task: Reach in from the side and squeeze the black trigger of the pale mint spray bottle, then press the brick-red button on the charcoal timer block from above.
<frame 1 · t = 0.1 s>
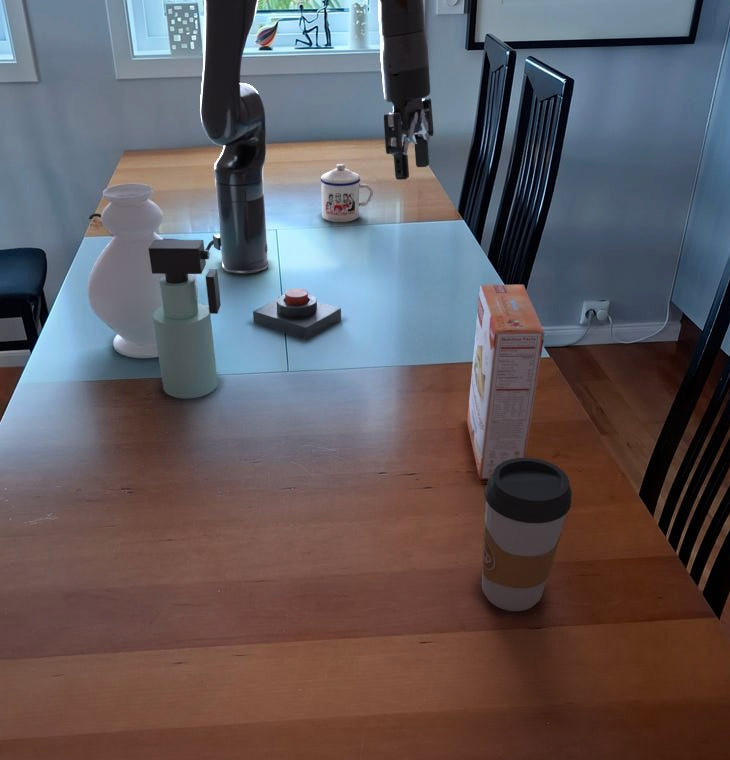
hand: (412, 172, 138), 22 cm above the table, tool pointing down, fingers open, 8 cm apart
spray bottle: (190, 385, 125), on the table
trigger: (213, 291, 116), point 15 cm above the table, slide at -0.1 cm
button: (296, 297, 141), point 4 cm above the table, slide at 0.1 cm
teacup with lid: (346, 217, 190), on the table
coffee cup: (510, 593, 87), on the table
decorative vase: (151, 342, 138), on the table
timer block: (297, 321, 144), on the table
cracker box: (491, 452, 109), on the table
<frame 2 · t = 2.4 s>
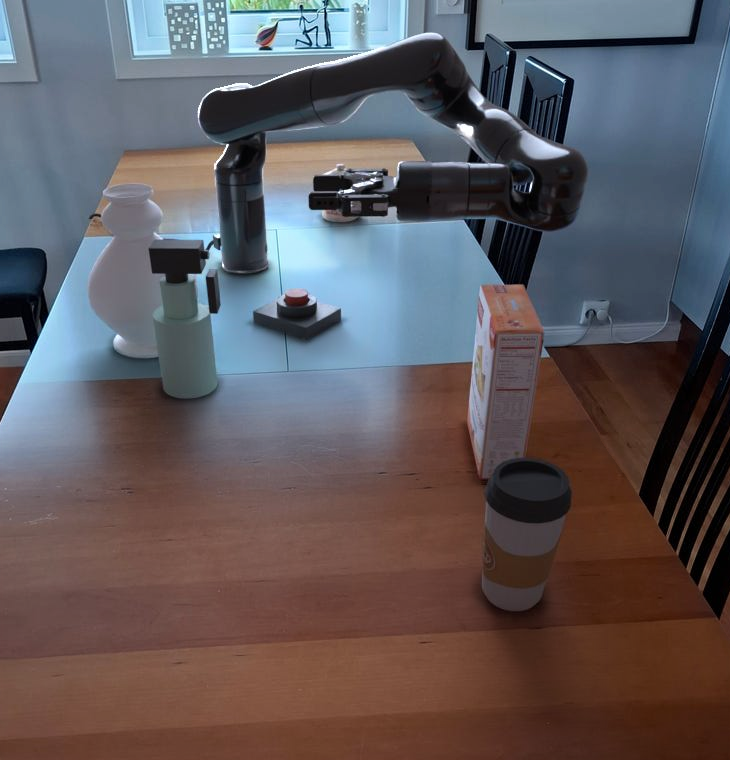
hand: (311, 192, 110), 28 cm above the table, tool horizontal, fingers open, 7 cm apart
nothing on the table moved.
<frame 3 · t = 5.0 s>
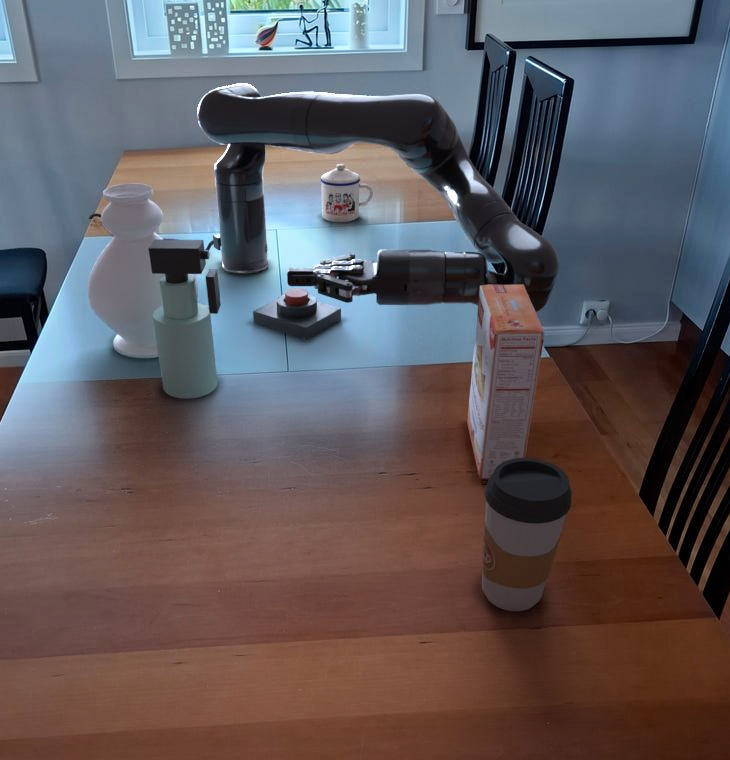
hand: (287, 276, 114), 17 cm above the table, tool horizontal, fingers closed
nothing on the table moved.
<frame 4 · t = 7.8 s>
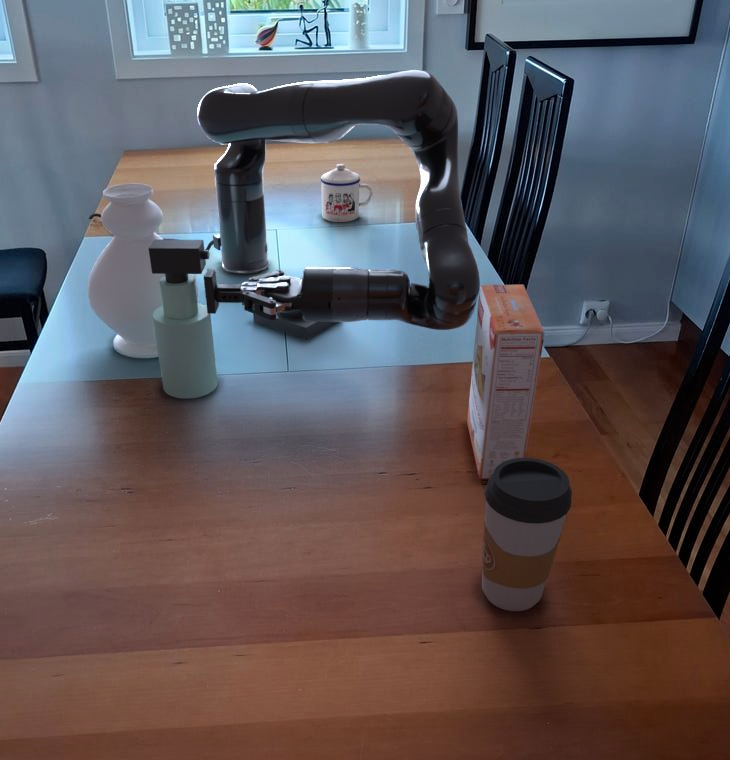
hand: (215, 293, 116), 15 cm above the table, tool horizontal, fingers closed
trigger: (211, 291, 116), point 15 cm above the table, slide at 0.2 cm, touching gripper
everything else where it was.
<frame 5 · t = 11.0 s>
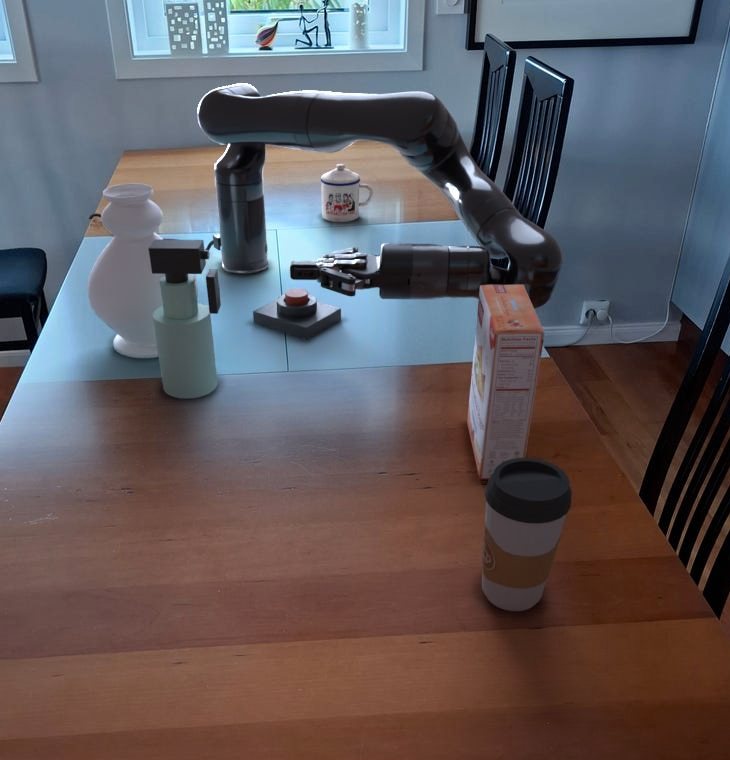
hand: (290, 270, 114), 18 cm above the table, tool horizontal, fingers closed
trigger: (213, 291, 116), point 15 cm above the table, slide at -0.1 cm
everything else where it was.
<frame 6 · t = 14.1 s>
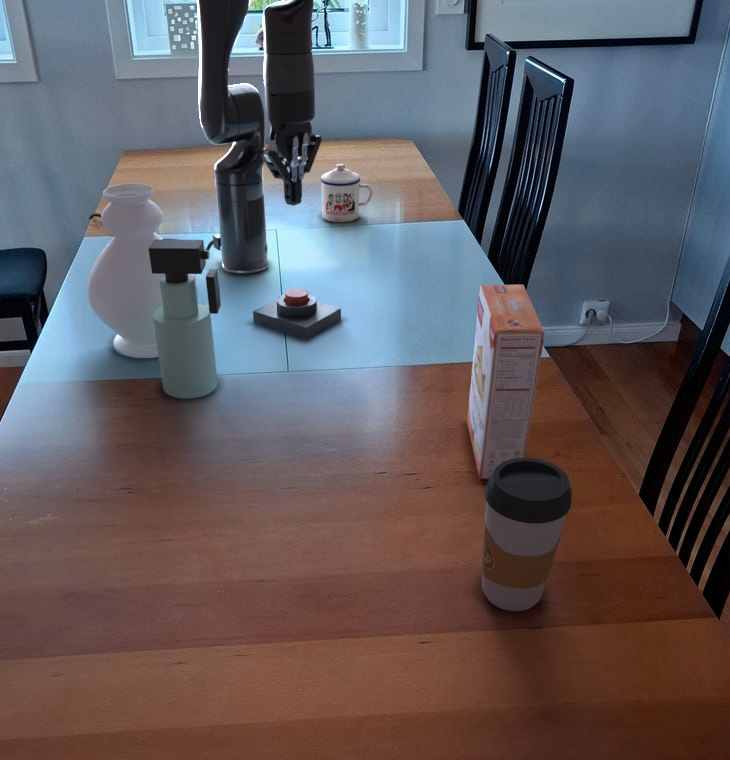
hand: (293, 203, 131), 20 cm above the table, tool pointing down, fingers closed
nothing on the table moved.
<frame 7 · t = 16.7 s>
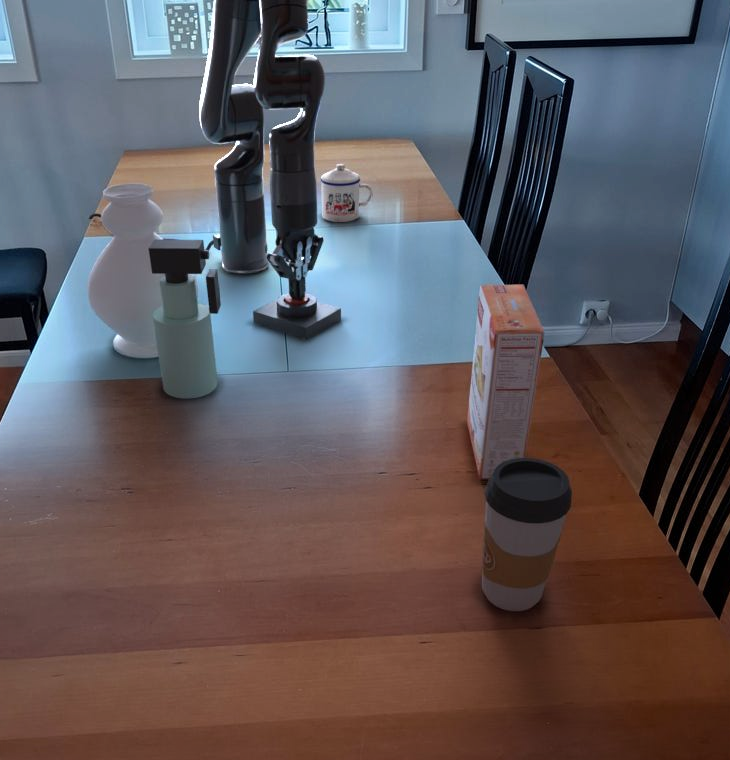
hand: (297, 298, 141), 4 cm above the table, tool pointing down, fingers closed
button: (296, 303, 142), point 3 cm above the table, slide at -0.9 cm, touching gripper
everything else where it was.
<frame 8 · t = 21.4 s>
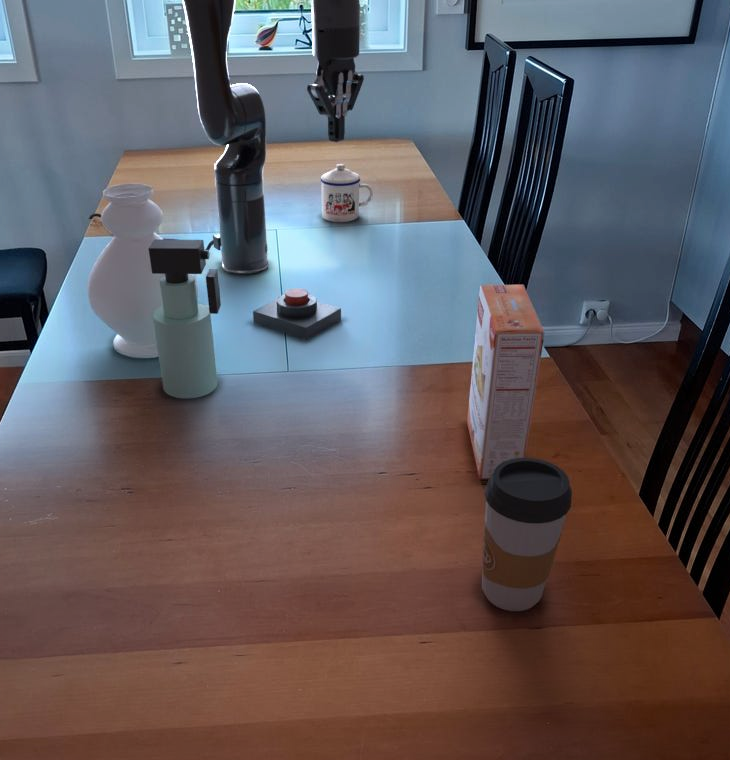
hand: (336, 140, 138), 27 cm above the table, tool pointing down, fingers closed
button: (296, 297, 141), point 4 cm above the table, slide at 0.1 cm
everything else where it was.
at the end: trigger pulled out 1.3 cm at the most during the clip, back to where it started at the end; button pushed in 1.1 cm at the most during the clip, back to where it started at the end; button slide at 0.1 cm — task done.
